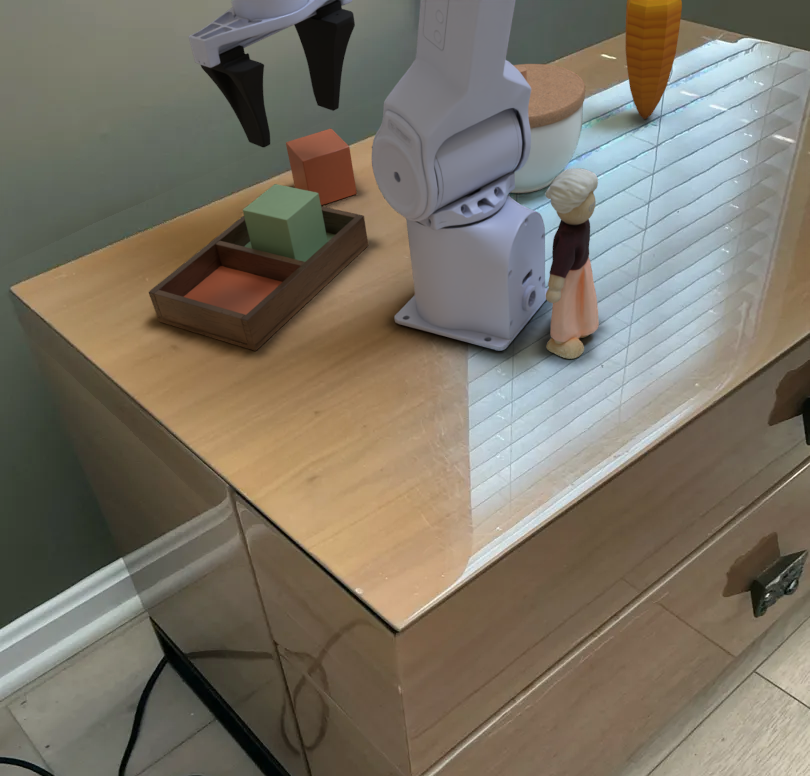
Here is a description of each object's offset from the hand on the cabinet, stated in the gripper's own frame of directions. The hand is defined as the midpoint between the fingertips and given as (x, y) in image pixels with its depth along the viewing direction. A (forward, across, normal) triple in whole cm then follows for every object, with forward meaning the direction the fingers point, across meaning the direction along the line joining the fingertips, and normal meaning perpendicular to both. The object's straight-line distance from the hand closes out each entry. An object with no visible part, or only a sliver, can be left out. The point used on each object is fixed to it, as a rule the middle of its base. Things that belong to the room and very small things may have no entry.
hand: (294, 124), depth 79 cm
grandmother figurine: (+9, 0, +29) cm, 30 cm away
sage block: (+8, +6, +4) cm, 10 cm away
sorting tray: (+8, +9, +5) cm, 13 cm away
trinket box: (+9, -16, +11) cm, 21 cm away
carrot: (+9, -31, +14) cm, 35 cm away
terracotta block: (+8, -4, -3) cm, 10 cm away
